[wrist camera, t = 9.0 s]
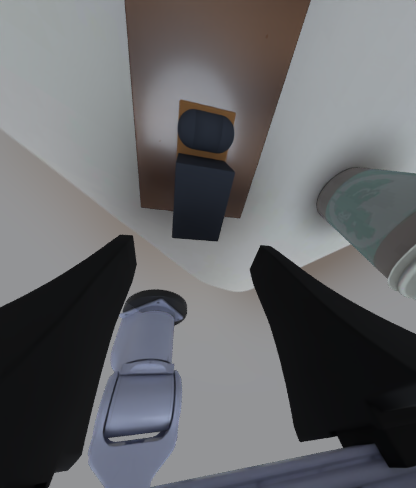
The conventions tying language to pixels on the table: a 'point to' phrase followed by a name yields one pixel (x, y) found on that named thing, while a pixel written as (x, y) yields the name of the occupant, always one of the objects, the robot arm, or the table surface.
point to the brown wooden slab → (207, 80)
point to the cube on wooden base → (202, 171)
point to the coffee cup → (376, 220)
